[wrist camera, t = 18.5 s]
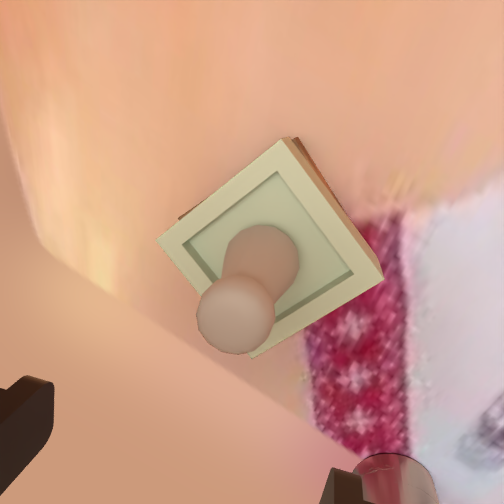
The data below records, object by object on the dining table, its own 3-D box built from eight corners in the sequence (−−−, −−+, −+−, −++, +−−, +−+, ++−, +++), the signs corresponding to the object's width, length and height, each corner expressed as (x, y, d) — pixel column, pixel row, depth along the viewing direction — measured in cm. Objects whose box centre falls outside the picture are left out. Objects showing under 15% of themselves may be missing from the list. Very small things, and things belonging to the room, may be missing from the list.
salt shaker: (266, 299, 35) (231, 392, 23) (217, 252, 35) (156, 321, 22) (316, 254, 33) (308, 330, 21) (266, 203, 33) (227, 251, 20)
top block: (377, 257, 36) (384, 279, 31) (262, 329, 40) (252, 359, 35) (288, 136, 35) (281, 138, 29) (178, 224, 39) (155, 240, 34)
